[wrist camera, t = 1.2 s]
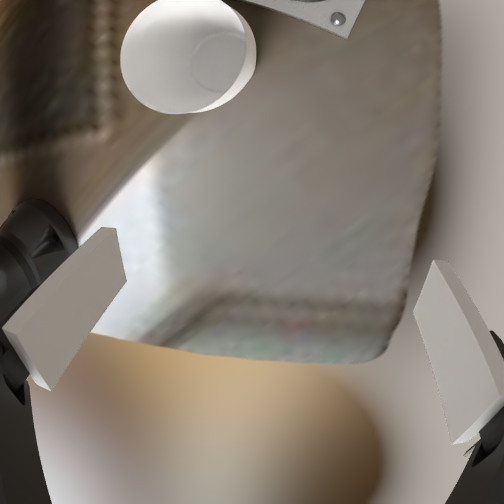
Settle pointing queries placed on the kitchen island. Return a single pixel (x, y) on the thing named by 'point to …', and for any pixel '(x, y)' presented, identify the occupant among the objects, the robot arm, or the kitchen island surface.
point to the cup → (187, 55)
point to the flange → (318, 12)
